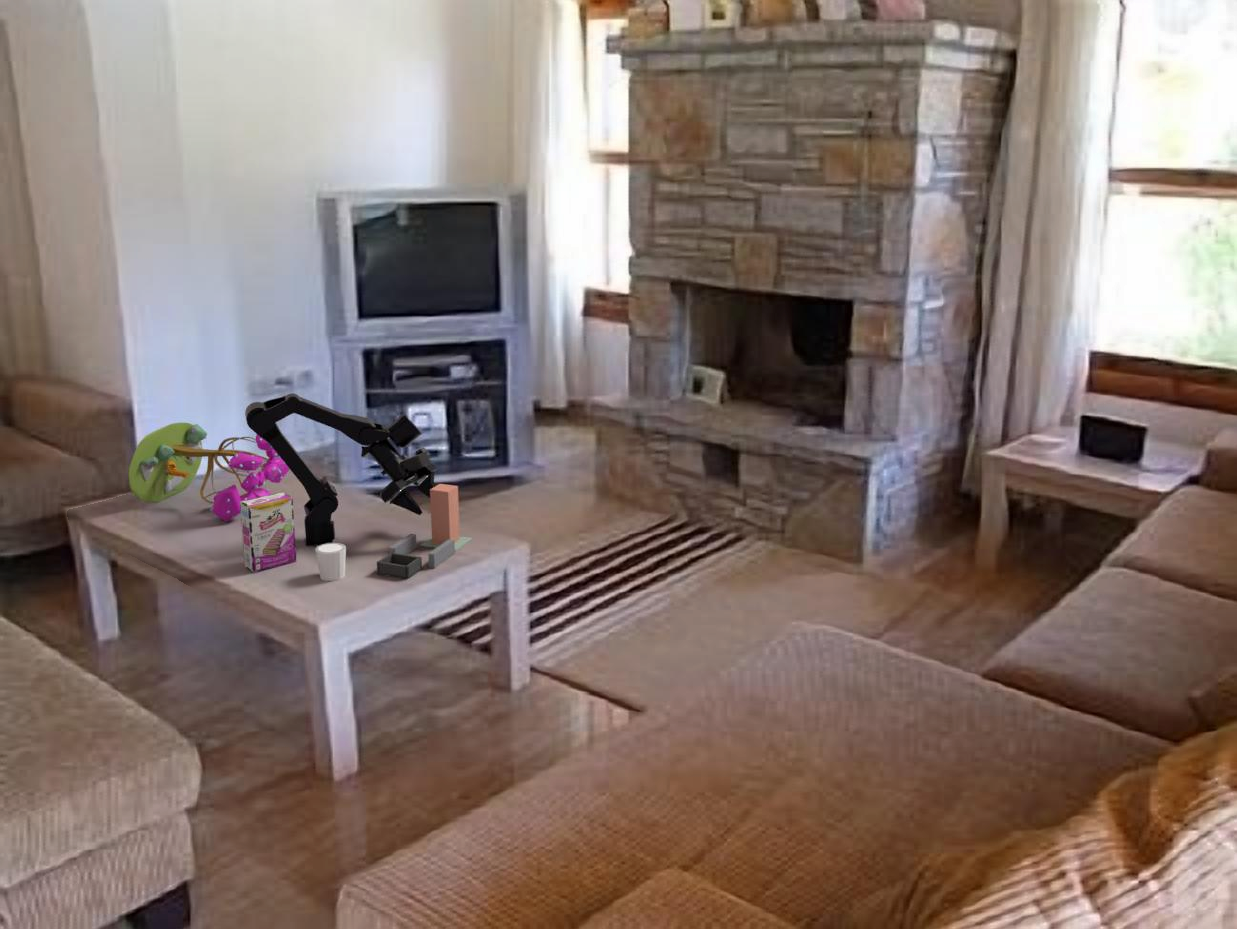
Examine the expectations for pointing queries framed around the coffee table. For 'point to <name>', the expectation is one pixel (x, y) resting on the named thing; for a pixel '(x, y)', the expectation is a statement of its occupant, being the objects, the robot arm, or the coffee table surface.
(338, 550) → the white cup
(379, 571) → the dark grey open box
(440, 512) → the salmon-pink block
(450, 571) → the coffee table surface
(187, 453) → the lily pad toy
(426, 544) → the sage mat
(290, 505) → the candy bar box
